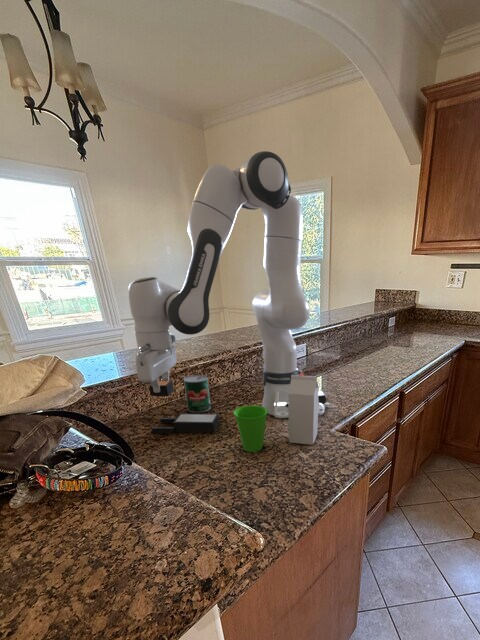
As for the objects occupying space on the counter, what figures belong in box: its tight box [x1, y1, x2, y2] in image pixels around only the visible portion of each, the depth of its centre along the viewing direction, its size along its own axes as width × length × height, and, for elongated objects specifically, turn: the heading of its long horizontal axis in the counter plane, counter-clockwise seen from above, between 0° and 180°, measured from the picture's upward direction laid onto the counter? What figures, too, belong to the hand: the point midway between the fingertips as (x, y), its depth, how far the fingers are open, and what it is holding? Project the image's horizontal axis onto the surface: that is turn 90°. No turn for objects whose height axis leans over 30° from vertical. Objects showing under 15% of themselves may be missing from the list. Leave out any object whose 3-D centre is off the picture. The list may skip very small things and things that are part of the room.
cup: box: [233, 404, 268, 453], centre depth 96 cm, size 9×9×11 cm
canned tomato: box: [183, 374, 212, 414], centre depth 121 cm, size 8×8×11 cm
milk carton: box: [288, 375, 320, 446], centre depth 99 cm, size 7×7×19 cm
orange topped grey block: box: [148, 380, 175, 397], centre depth 104 cm, size 5×5×3 cm
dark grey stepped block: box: [151, 413, 220, 434], centre depth 109 cm, size 18×8×3 cm, turn 90°
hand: (162, 388), depth 104 cm, fingers closed on orange topped grey block, 5 cm apart
